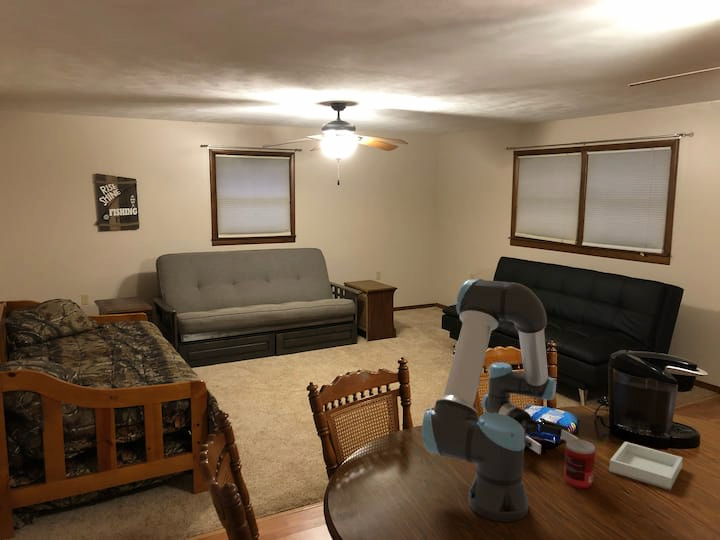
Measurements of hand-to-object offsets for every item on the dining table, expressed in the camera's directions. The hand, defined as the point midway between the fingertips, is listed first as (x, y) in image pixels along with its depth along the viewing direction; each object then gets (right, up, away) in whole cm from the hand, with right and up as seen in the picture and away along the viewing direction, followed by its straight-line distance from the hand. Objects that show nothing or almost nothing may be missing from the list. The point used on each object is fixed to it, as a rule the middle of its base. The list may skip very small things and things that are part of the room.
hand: (558, 446), depth 163 cm
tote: (+26, -7, 0) cm, 27 cm away
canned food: (+3, -8, -7) cm, 11 cm away
